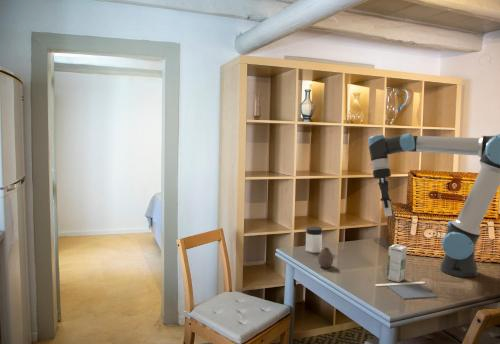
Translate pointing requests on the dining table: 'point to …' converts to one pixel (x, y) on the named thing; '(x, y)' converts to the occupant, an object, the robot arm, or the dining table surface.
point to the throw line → (400, 284)
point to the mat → (411, 291)
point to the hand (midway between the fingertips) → (388, 215)
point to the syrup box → (396, 263)
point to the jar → (313, 239)
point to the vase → (325, 258)
